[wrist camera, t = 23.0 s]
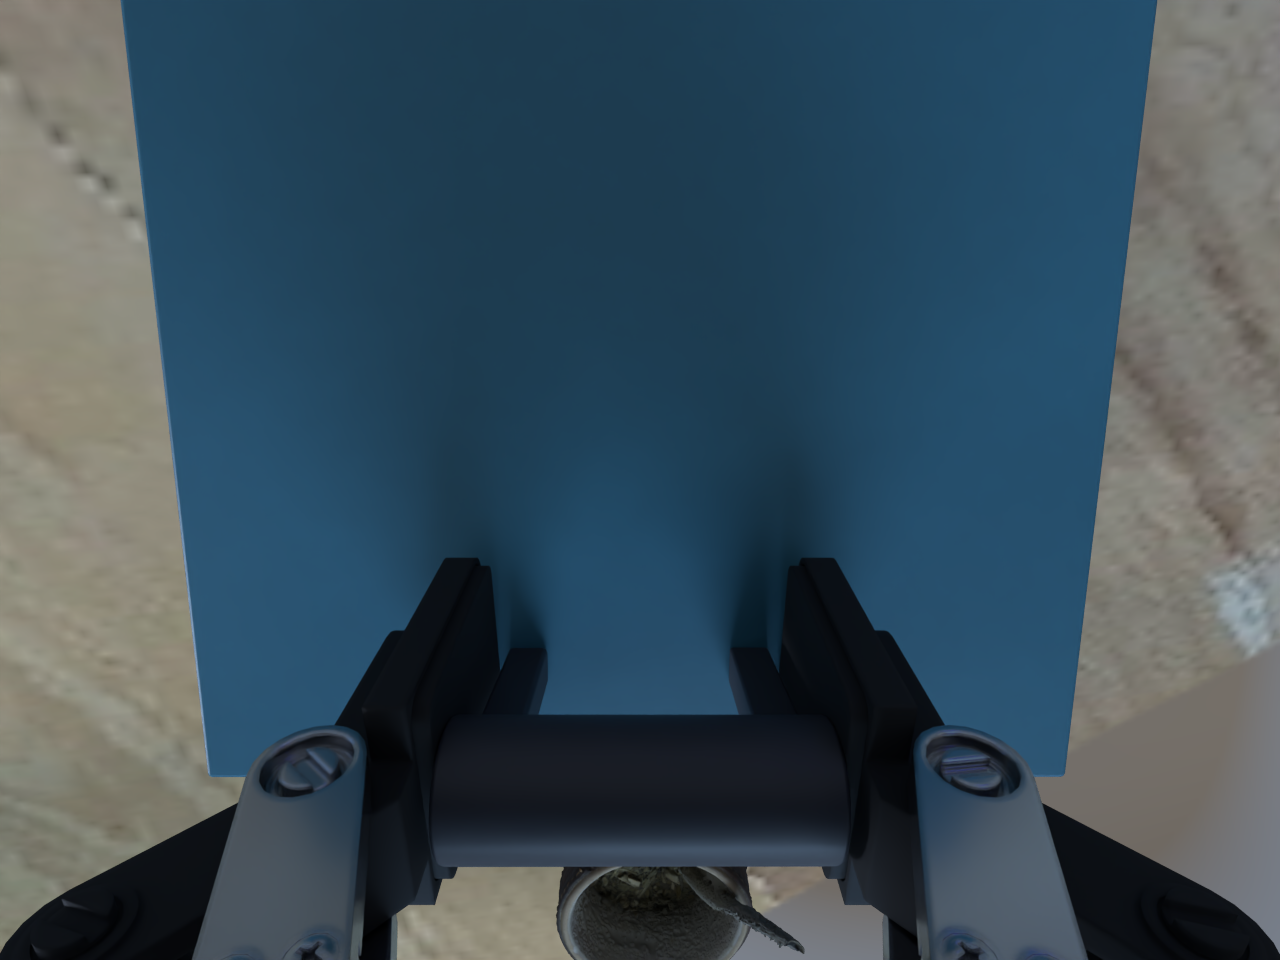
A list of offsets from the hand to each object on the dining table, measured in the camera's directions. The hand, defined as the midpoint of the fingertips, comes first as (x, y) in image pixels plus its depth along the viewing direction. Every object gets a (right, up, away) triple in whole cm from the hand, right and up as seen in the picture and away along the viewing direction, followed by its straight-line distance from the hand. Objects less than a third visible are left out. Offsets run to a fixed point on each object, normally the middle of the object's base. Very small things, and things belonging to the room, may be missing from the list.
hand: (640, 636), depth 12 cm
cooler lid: (0, +5, 0) cm, 5 cm away
